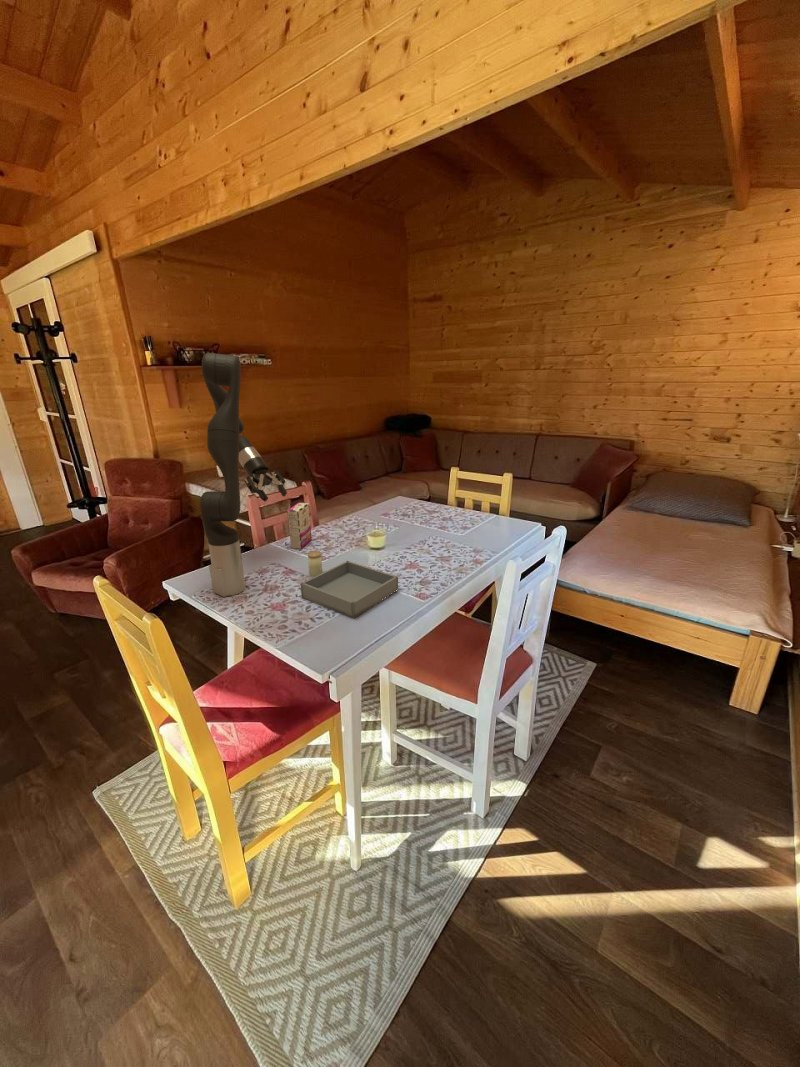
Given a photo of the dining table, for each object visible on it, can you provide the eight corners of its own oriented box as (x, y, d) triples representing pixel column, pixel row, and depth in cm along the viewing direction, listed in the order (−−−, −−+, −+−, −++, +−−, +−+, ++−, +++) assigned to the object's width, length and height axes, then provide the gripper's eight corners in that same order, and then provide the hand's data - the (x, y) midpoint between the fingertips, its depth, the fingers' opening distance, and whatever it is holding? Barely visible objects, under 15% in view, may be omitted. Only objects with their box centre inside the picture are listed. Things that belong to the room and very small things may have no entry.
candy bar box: (301, 539, 192) (298, 502, 187) (312, 539, 191) (309, 502, 186) (290, 548, 182) (286, 510, 176) (301, 549, 181) (298, 510, 175)
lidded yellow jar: (315, 578, 156) (314, 557, 153) (306, 574, 159) (304, 553, 156) (325, 573, 160) (324, 552, 157) (316, 570, 163) (314, 549, 160)
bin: (353, 618, 131) (353, 603, 129) (301, 597, 143) (300, 583, 141) (397, 590, 148) (398, 576, 146) (348, 573, 160) (347, 560, 158)
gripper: (239, 458, 156) (264, 495, 154) (272, 453, 167) (295, 487, 165) (232, 472, 161) (255, 508, 159) (264, 465, 172) (287, 499, 170)
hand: (276, 497), depth 162 cm, fingers open, 8 cm apart
